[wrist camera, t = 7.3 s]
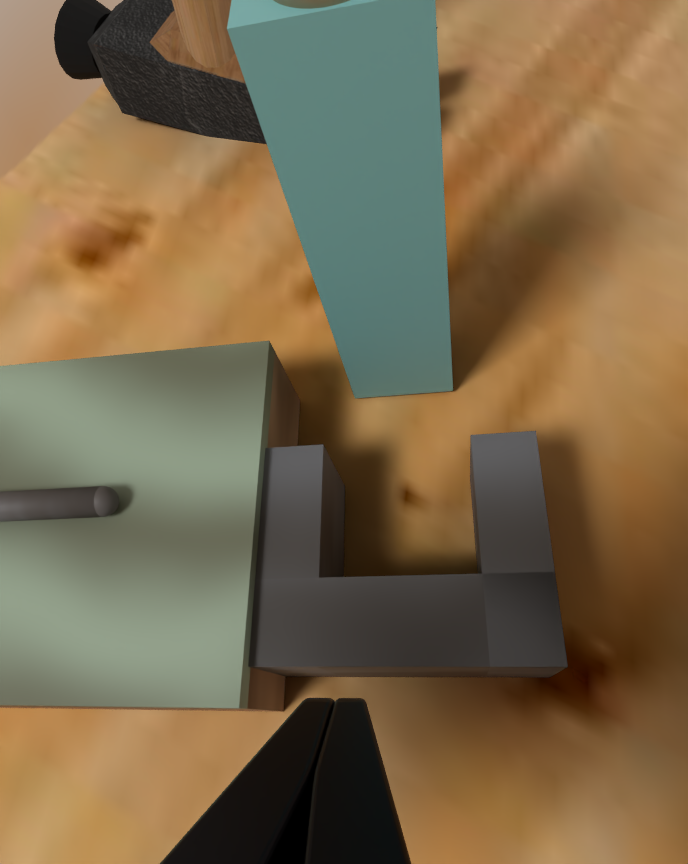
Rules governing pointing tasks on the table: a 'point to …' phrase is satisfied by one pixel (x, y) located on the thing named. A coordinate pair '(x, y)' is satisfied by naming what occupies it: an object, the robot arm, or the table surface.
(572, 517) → the table surface
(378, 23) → the teal rectangular block
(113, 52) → the hammer
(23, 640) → the toolbox
